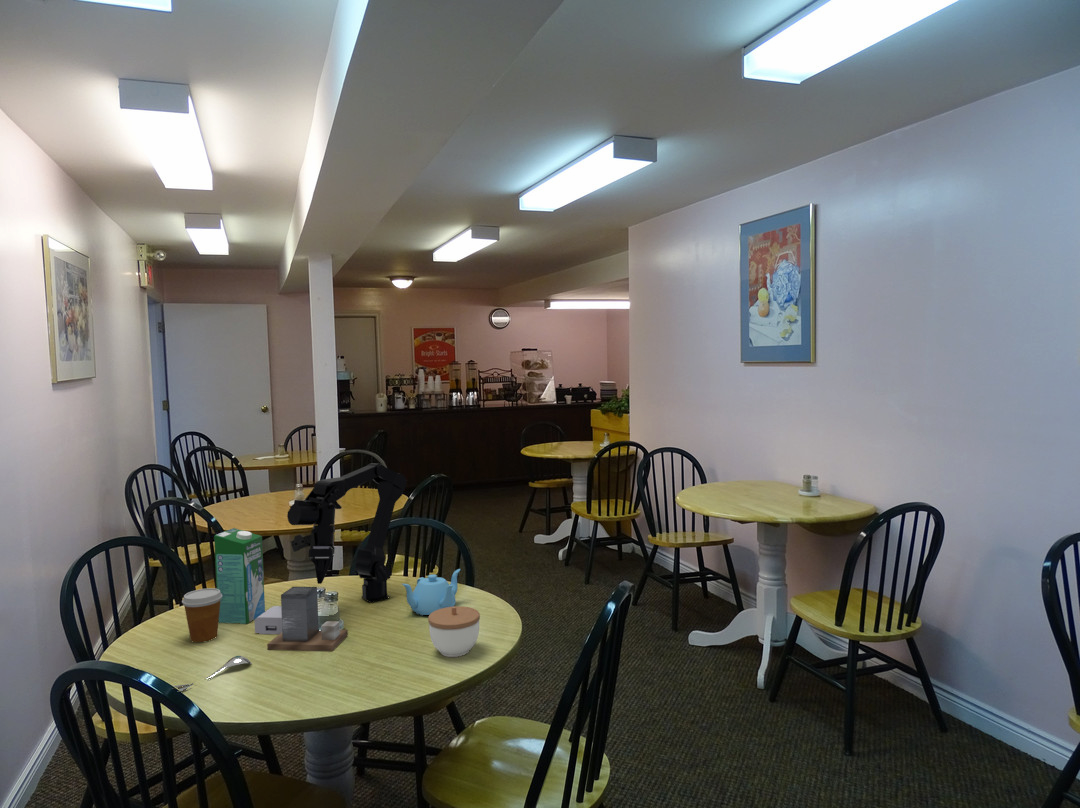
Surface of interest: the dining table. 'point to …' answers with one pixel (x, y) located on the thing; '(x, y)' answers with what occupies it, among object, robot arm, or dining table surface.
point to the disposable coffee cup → (202, 613)
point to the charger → (269, 621)
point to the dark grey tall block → (299, 614)
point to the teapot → (432, 594)
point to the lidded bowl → (454, 630)
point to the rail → (313, 639)
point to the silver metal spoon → (231, 662)
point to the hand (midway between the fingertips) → (320, 582)
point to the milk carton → (239, 575)
